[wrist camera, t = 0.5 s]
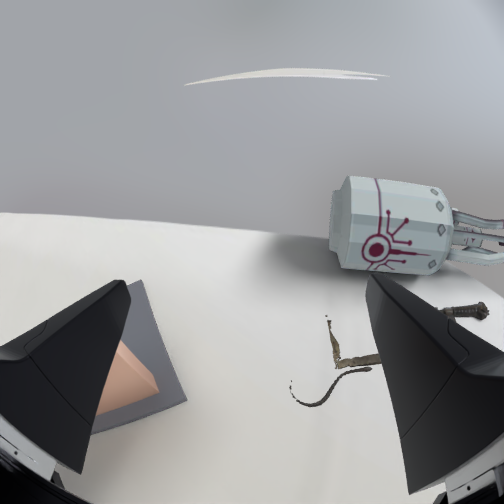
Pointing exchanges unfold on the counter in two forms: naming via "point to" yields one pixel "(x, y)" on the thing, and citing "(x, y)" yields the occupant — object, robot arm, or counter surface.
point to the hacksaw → (473, 310)
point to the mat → (152, 357)
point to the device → (404, 228)
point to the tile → (126, 381)
